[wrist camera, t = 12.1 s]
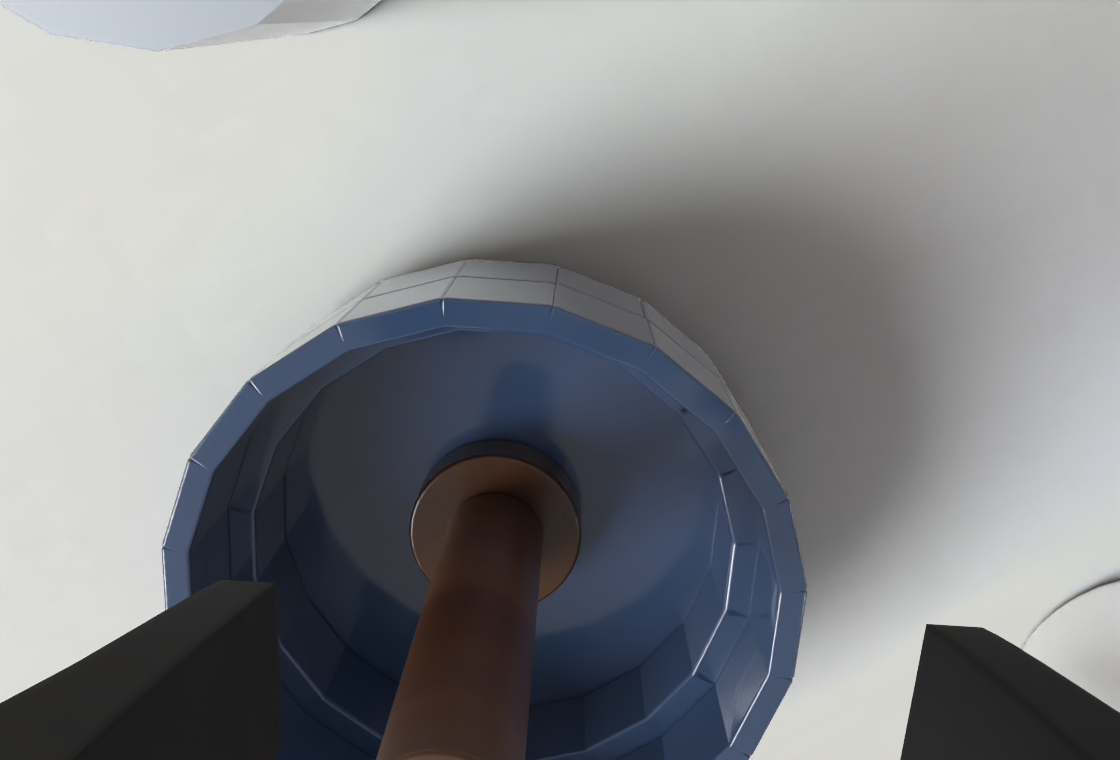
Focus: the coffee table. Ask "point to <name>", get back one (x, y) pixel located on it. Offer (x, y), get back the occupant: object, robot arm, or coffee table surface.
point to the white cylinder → (184, 19)
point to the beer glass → (1084, 642)
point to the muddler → (481, 600)
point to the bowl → (561, 434)
